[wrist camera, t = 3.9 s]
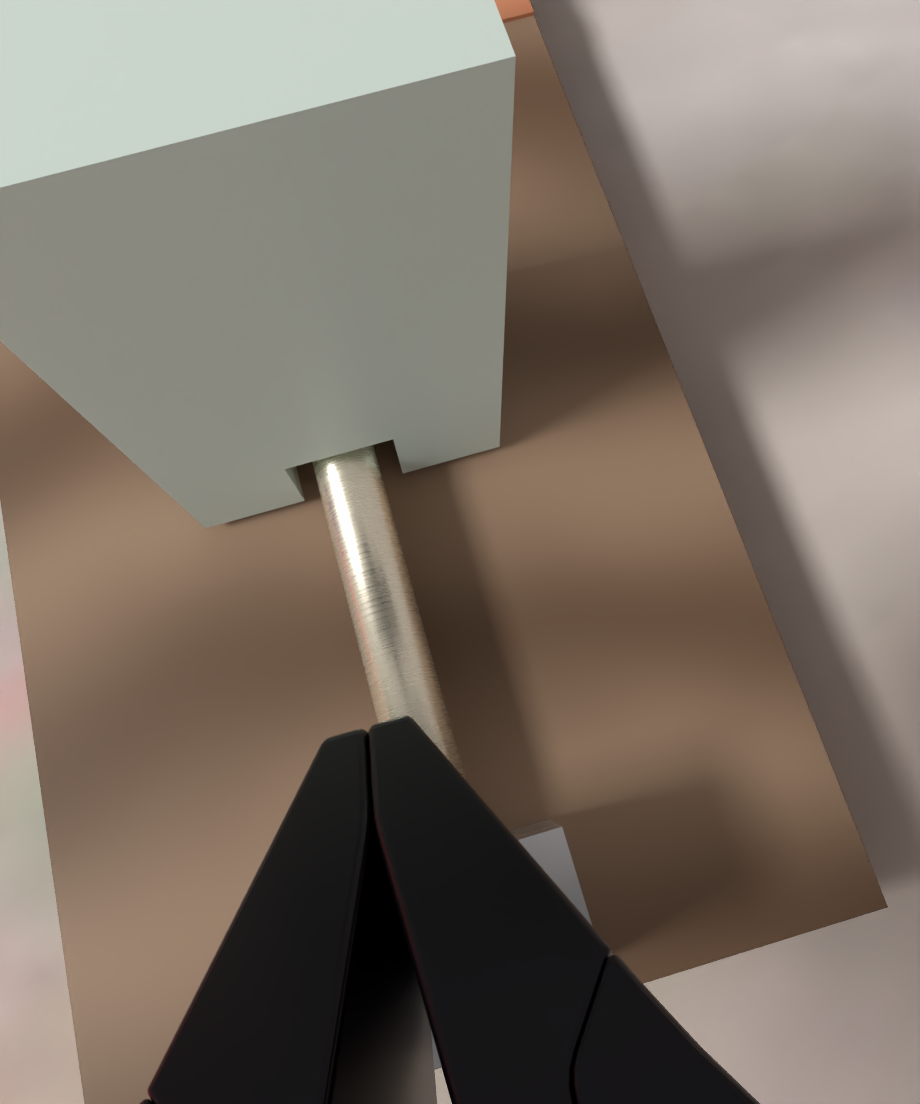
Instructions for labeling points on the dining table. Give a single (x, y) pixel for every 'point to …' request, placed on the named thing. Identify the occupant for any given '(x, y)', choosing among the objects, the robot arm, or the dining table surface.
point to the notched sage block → (259, 230)
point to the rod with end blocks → (405, 633)
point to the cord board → (454, 641)
